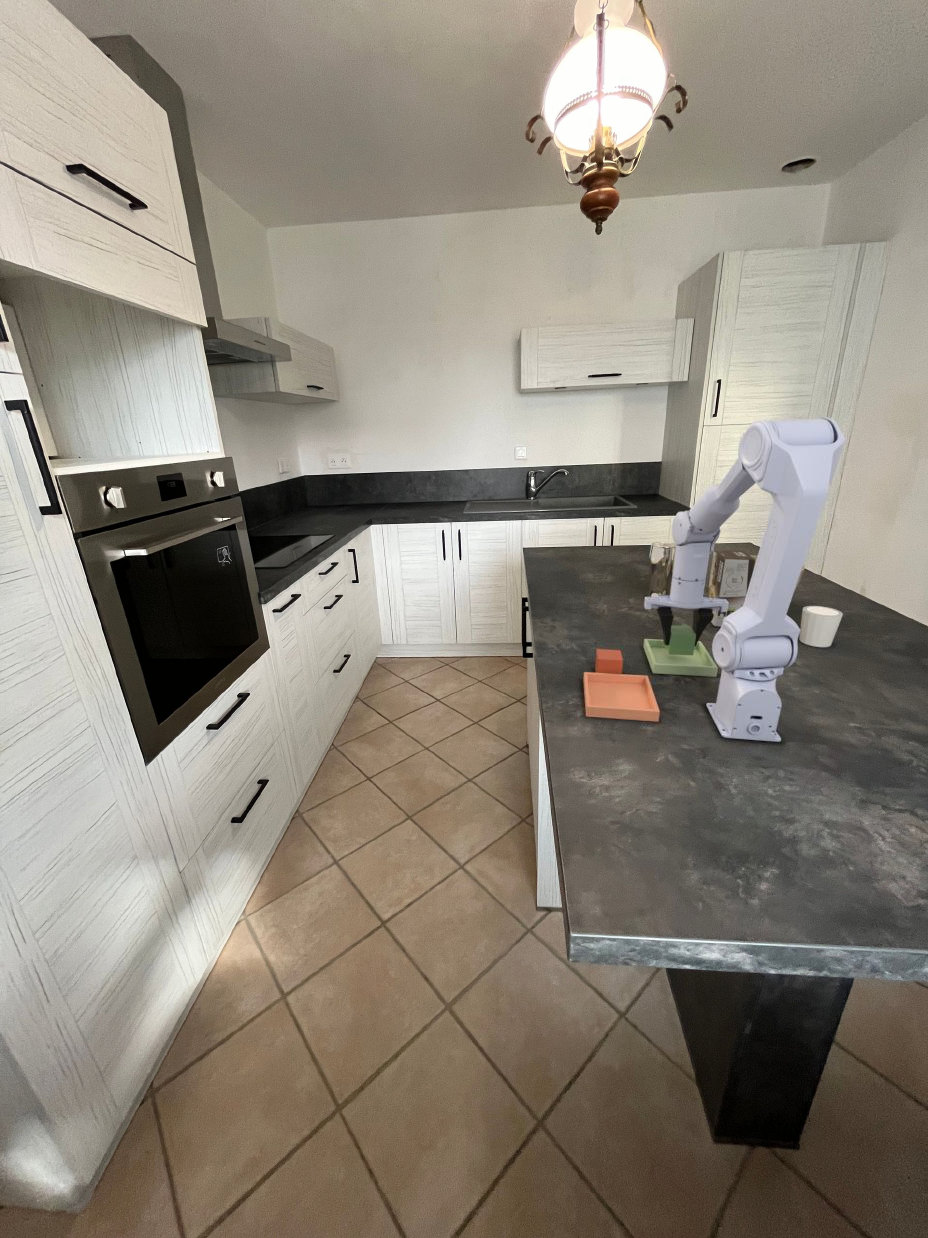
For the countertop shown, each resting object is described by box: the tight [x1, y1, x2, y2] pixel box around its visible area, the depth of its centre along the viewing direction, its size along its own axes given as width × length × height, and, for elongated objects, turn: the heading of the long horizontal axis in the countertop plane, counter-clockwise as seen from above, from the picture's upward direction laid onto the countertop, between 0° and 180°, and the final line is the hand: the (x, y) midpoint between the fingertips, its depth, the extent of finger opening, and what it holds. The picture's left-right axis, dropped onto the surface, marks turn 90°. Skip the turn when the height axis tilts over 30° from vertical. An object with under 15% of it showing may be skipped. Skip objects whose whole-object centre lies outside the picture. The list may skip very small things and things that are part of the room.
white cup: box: [798, 605, 844, 648], centre depth 102 cm, size 7×7×7 cm
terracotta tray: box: [583, 671, 660, 723], centre depth 83 cm, size 12×11×2 cm
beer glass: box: [646, 541, 676, 597], centre depth 129 cm, size 7×7×15 cm
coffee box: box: [706, 549, 756, 627], centre depth 113 cm, size 9×6×16 cm
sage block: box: [665, 624, 696, 655], centre depth 95 cm, size 4×4×4 cm
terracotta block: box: [594, 648, 624, 674], centre depth 91 cm, size 4×4×4 cm
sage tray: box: [643, 638, 719, 678], centre depth 96 cm, size 12×11×2 cm
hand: (679, 643), depth 95 cm, fingers closed on sage block, 4 cm apart
